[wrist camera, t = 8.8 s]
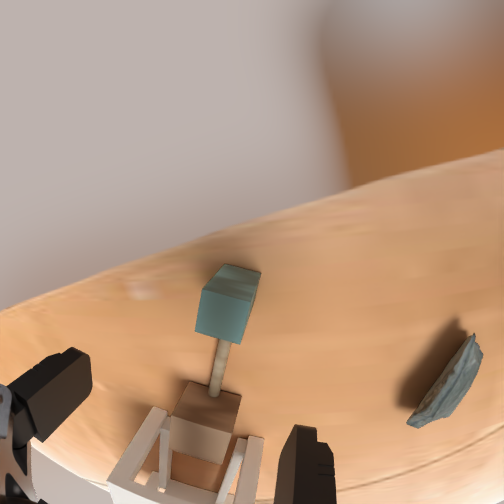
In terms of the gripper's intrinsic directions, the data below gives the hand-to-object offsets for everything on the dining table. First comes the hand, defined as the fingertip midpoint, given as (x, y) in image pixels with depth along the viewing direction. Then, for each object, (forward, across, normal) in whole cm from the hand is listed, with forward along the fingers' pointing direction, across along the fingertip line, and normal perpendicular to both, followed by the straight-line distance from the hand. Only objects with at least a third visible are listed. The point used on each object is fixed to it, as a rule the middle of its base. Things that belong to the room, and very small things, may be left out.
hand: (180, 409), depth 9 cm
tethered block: (+14, +1, +7) cm, 15 cm away
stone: (+15, -22, +5) cm, 27 cm away
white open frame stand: (+14, +1, +24) cm, 27 cm away
